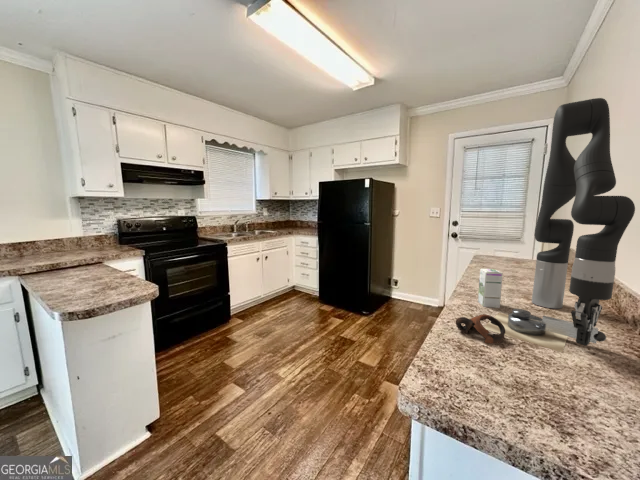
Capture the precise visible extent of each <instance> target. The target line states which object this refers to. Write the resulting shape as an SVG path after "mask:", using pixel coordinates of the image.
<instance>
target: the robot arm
mask: <svg viewBox="0 0 640 480" xmlns="http://www.w3.org/2000/svg"><path fill="white" fill-rule="evenodd" d="M553 117H554V118H553V122H552V131H551V142H550V153H549V159H548V164H547V168H546V173H545V178H544V183H543V189H542V197H541V203H540V208H539V211H538V216H537V220H536V224H535V229H534V239H535V241H536V242H538V243H545V244H558V245H557V246H556V247H554V248H551V249H549V250H548V249H547V250H541V251H538V252H537V254H536V260H535V261H536V262H535V269H534V270H535V271H534V277H533V279H534V280H533V285H532V287H533V288H532V293H531V294H532V295H531V303H532V304H534V305H535V306H540V307H544V308H548V309H556V310H557V309H562V308H563V306H564V305H563V304H564V299H565V291H566V282H567V274H568V273H567V272H568V266H569V265H568V264H569V258H570V251H571V245H572V241H573V235H574V230H575V229H574V228H575V225H574V222H575V223H577V224H579V225H584V226H585V225H590V226H592V225H593V226H604V227H603V228H602V229H601V230H600V231H599V232H596V233H590V234H582V235H580V236H578V238H577V240H576V245H575V247H576V248H575V255H574V260H573V262H572V267H571V274H570V280H569V289H568V291H569V293H570V294H572V295H575V296H577V297H578V299H577V301H575V302H574V309H575V310H571V313H570V314H571V319H572V320H571V321H572V322H573V324H574V327H575V328H577V329H578V330H577V337H576V338H575V342H576V343H577V344H578V345H579V344H580V345H583V346H588V345H590V343H591V342H590V337H591V331H592V330H593V329H594V328H593V327H596V326H597V323H598V319H599V318H600V316H601V312H602V310H603V306H602V304H600V301H608V300H611V299H612V297H613V290H614V285H615V284H614V283H615V278H616V277H615V276H616V261H617V260H616V259H617V254H618V246H619V243H620V242H621V239H622V237H623V235H624V233H625V231H626V230H627V228H628V226H629V224H630V223H631V221H632V220H633V218H634V215H635V213H636V212H635V211H636V207H635V203H634V201H633V200H632V199H631V198H630V197H628V196H625V195H603V194H606V193H609V192H611V191H612V190H614V188H615V187H616V184H617V178H616V174H615V170H614V166H613V163H612V158H611V157H612V156H611V119H610V117H611V116H610V106H609V103H608V101H607V100H606V99H605V98H603V97H597V98H590V99H585V100H579V101H575V102H574V101H573V102H568V103H563V104H561V105H560V106H558V107H557V109H556V110H555V113H554V116H553ZM588 134H591V139H590V141H589V142H588V143H587V145H586V146H585V148H584V149H583V150H582V151H581V152H580V154H579V155H578V157H577V158H576V159H575V157H573V155H572V154H571V152H570V151H569V149H568V147H567V138H568V137H573V136H574V137H575V136H581V135H588ZM573 199H574V201H573V203H572V207H571V211H570V216H571V218H572V219H573V220H574V222H573V220H571V219H566V218H565V219H564V218H552V216H553V215H554V214H555V213H556V212H557V211H559V210H560V209H561V208H562V207H564V206H565V205H566V204H568V203H569V202H570V201H571V200H573Z"/></svg>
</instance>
